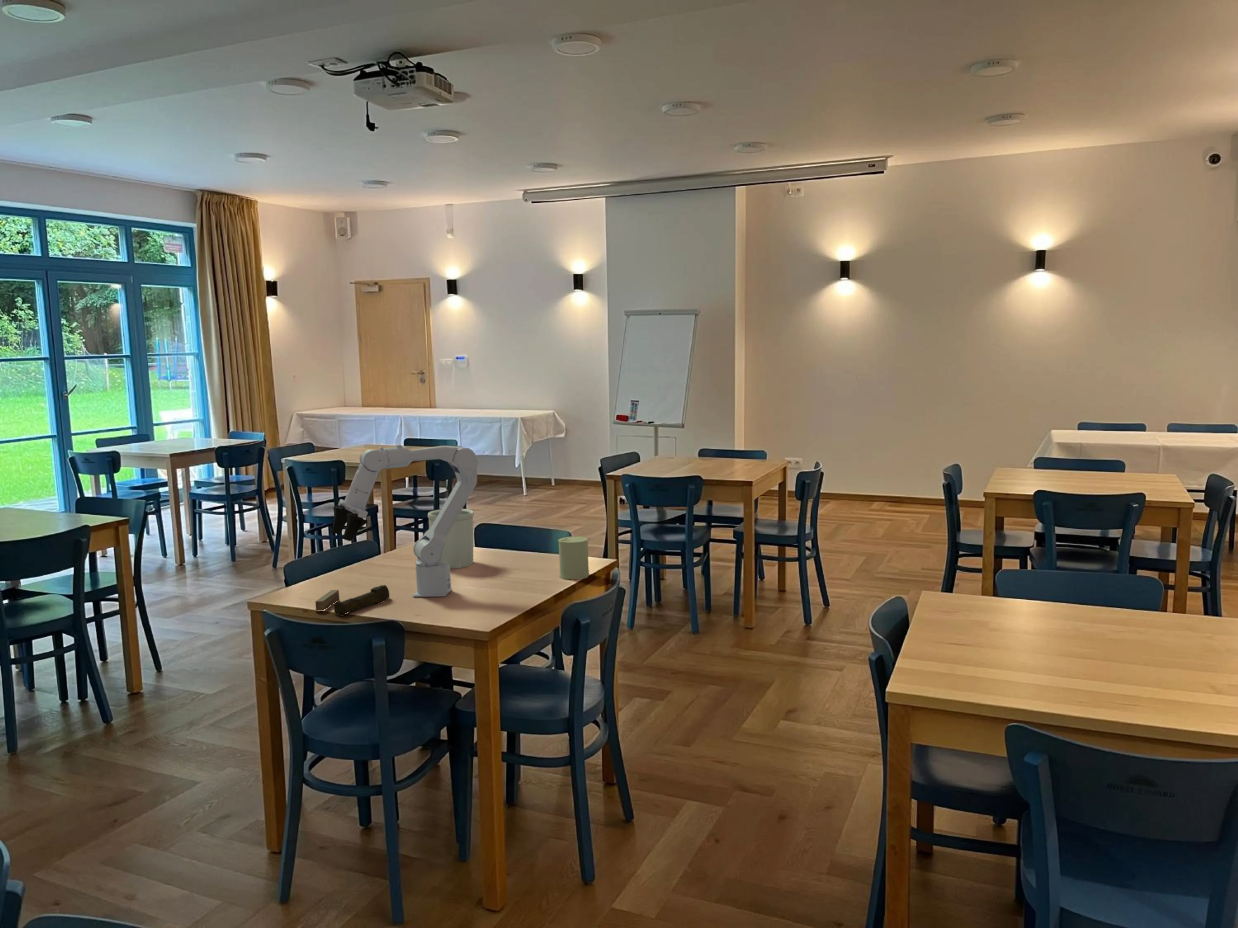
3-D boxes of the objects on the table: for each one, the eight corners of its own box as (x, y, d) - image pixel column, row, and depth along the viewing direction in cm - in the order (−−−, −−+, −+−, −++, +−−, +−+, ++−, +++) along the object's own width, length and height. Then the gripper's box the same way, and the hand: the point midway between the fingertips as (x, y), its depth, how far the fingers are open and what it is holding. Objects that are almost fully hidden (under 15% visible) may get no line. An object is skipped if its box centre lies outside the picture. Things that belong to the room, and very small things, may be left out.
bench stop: (339, 600, 254) (338, 589, 254) (323, 612, 242) (322, 601, 242) (332, 600, 254) (331, 589, 254) (316, 612, 242) (315, 601, 242)
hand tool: (343, 617, 237) (342, 600, 237) (333, 615, 239) (332, 598, 239) (396, 600, 253) (395, 584, 253) (386, 598, 255) (385, 583, 255)
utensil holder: (478, 558, 303) (476, 507, 301) (472, 568, 288) (470, 515, 286) (434, 560, 303) (431, 508, 301) (426, 570, 288) (424, 516, 286)
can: (556, 574, 278) (554, 536, 277) (584, 571, 281) (583, 533, 280) (563, 580, 270) (562, 541, 268) (592, 577, 272) (591, 539, 271)
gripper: (336, 481, 250) (318, 526, 249) (358, 491, 239) (338, 539, 238) (358, 488, 255) (340, 533, 254) (380, 499, 244) (361, 546, 243)
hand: (341, 536), depth 246 cm, fingers open, 7 cm apart
